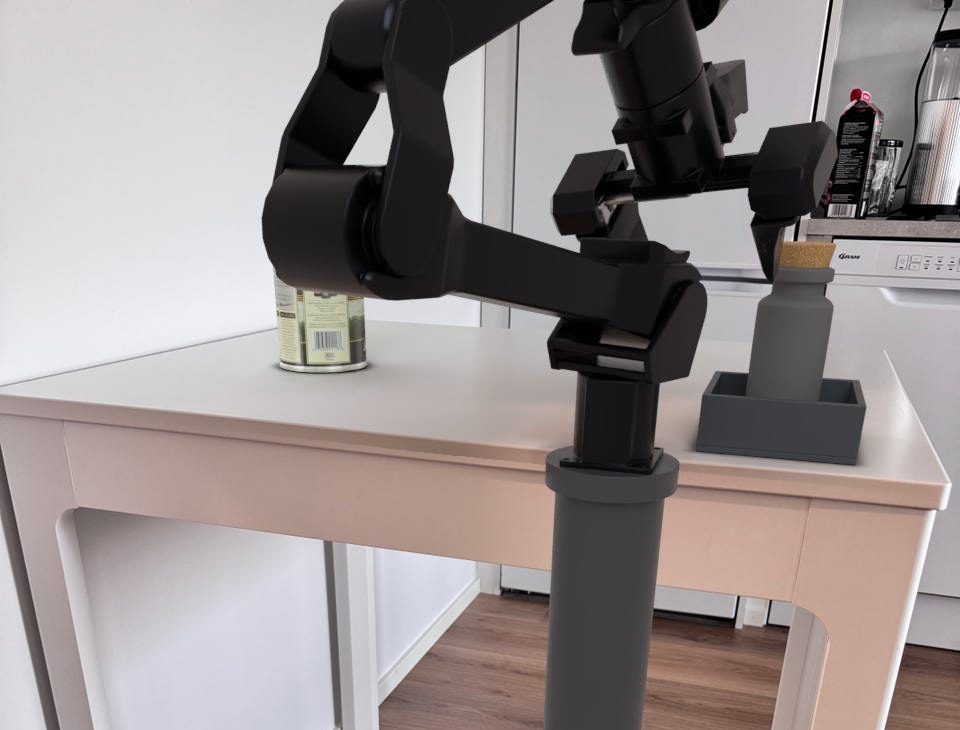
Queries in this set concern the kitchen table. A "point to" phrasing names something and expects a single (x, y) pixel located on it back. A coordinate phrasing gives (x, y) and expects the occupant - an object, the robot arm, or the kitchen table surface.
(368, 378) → the kitchen table surface
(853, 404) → the open rectangular box
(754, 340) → the bottle
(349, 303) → the coffee can
